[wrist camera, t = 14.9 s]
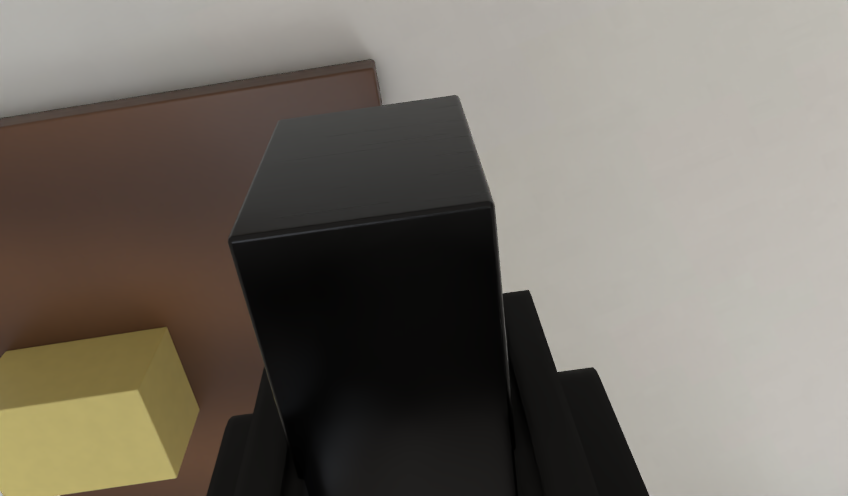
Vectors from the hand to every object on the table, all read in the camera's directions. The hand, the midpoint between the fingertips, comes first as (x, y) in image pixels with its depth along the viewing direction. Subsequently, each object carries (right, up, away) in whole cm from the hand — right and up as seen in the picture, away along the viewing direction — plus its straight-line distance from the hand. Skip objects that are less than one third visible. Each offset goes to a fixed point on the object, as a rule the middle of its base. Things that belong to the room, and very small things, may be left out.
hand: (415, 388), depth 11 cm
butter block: (-12, -3, +15) cm, 20 cm away
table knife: (+1, -4, +3) cm, 5 cm away
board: (-8, -2, +16) cm, 18 cm away
